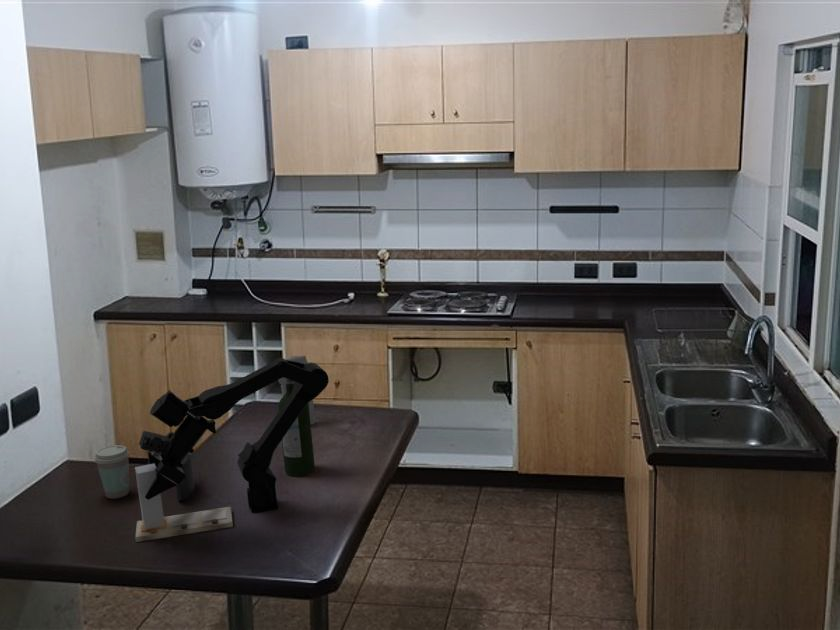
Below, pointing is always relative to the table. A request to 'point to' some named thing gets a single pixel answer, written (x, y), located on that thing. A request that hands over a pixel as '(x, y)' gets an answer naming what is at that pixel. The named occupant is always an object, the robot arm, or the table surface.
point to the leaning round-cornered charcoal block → (186, 480)
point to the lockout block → (153, 506)
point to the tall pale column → (283, 385)
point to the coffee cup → (114, 470)
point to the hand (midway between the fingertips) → (143, 491)
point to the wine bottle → (298, 441)
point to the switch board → (187, 524)
